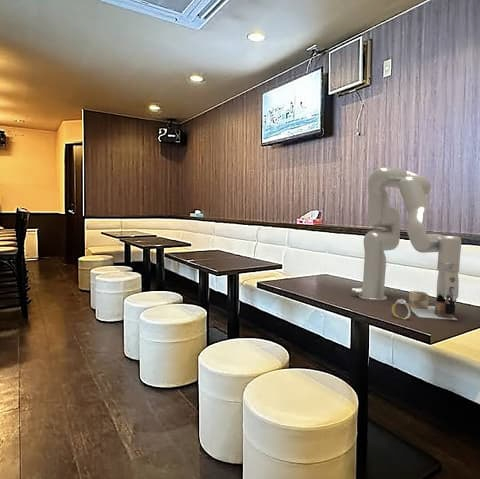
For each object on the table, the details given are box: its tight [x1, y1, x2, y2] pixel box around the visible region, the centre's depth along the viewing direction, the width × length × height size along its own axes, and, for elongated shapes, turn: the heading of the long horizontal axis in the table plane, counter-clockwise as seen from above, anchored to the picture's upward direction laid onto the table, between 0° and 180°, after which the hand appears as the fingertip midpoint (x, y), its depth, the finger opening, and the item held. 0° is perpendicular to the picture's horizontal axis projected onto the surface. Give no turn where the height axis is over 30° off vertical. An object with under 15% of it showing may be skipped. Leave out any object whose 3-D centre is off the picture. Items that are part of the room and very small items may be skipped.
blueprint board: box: [410, 305, 458, 321], centre depth 160 cm, size 14×21×1 cm
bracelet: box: [391, 298, 412, 320], centre depth 148 cm, size 7×3×8 cm, turn 37°
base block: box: [408, 290, 430, 309], centre depth 166 cm, size 6×6×6 cm
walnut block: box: [434, 300, 454, 318], centre depth 154 cm, size 5×5×5 cm
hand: (444, 310), depth 153 cm, fingers open, 9 cm apart
